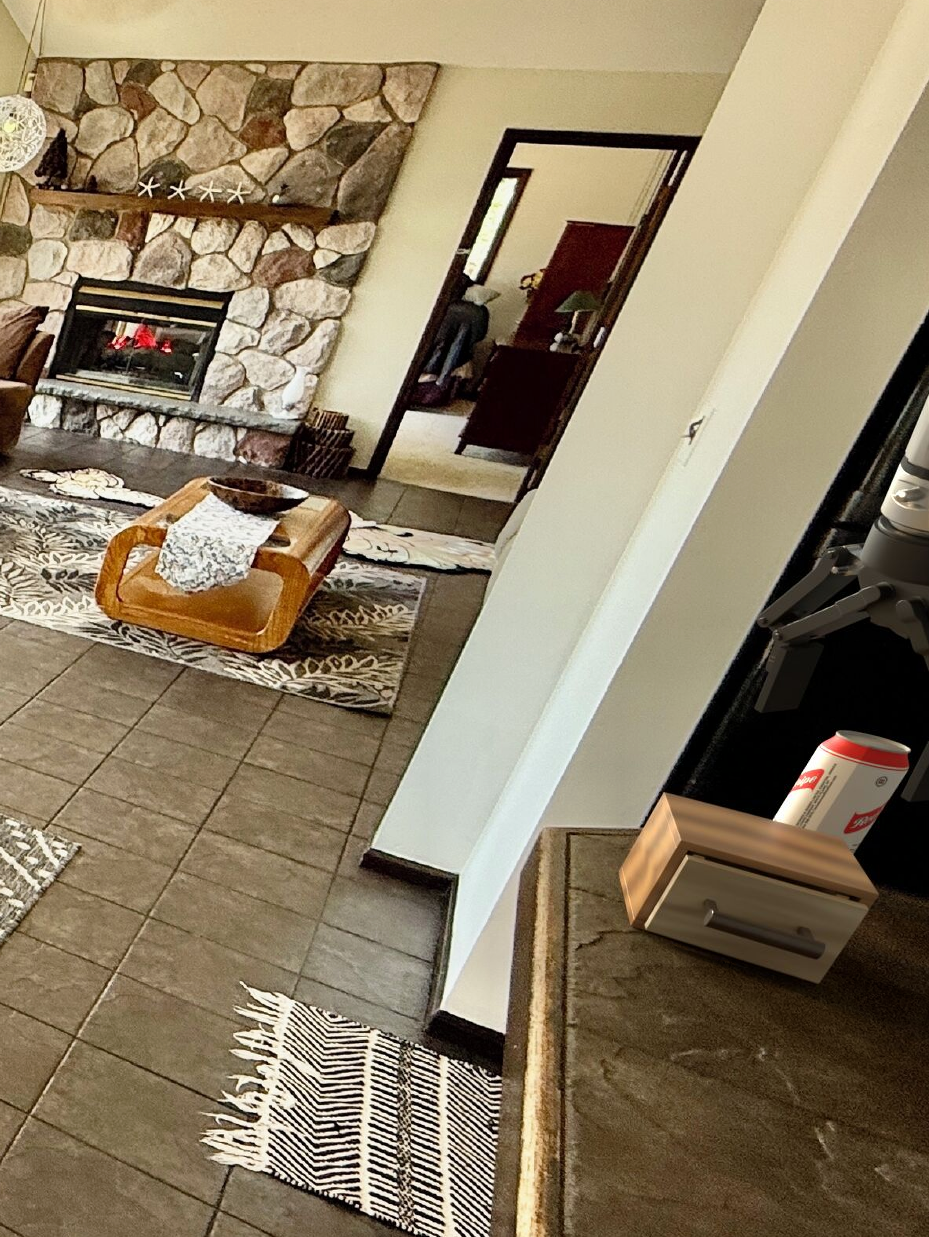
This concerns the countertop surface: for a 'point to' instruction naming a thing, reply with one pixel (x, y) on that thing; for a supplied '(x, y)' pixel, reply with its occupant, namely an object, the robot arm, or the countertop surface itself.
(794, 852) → the cabinet
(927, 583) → the robot arm
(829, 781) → the beer can
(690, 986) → the countertop surface
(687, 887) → the drawer
